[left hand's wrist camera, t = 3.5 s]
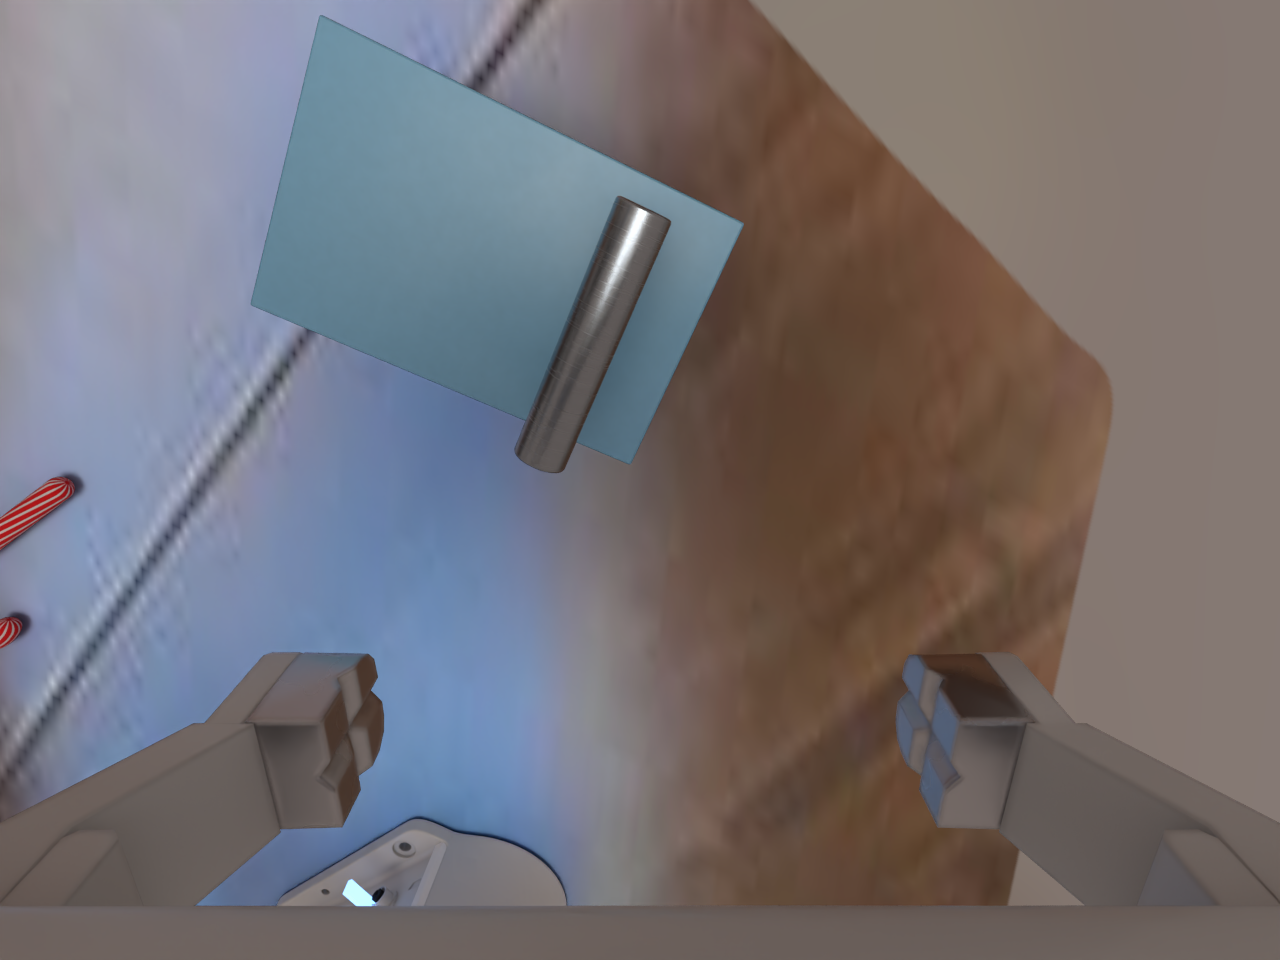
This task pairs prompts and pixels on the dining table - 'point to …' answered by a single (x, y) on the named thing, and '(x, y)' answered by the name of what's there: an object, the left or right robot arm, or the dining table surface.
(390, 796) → the dining table surface
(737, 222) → the lid
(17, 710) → the dining table surface
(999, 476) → the dining table surface
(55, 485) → the candy cane
